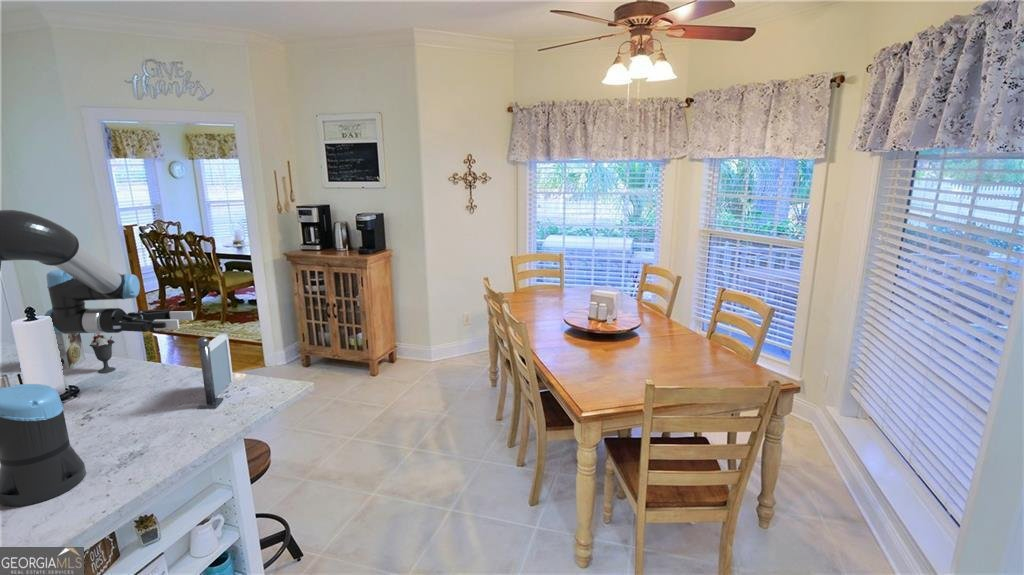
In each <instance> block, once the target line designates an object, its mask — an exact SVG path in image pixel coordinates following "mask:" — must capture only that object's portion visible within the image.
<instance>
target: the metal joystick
mask: <svg viewBox="0 0 1024 575" xmlns="http://www.w3.org/2000/svg"><path fill="white" fill-rule="evenodd" d="M209 342H210V339H209V338H208V337H203V336H202V337H200V338H198V339H197V341H196V346H197V347H198V350H199V357H200V364H201V373H202V380H203V387H204V395H205V396H204V397H205V398H204V400H202V402H200V403H199V404H198V406H197V407H198V409H199V408H200V410H201V409H207V410H208V409H217V408H218V407H219V406H220V405H221V404H222V403H223V402H224V401H223V400H224V397H215V393H214V386H213V378H212V370H211V363H210V355H209V347H208V345H209ZM222 401H223V402H222Z"/></svg>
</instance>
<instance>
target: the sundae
mask: <svg viewBox="0 0 1024 575" xmlns="http://www.w3.org/2000/svg"><path fill="white" fill-rule="evenodd" d="M93 334H94V336H92V340H91V343H90V344H89V347H91V348H92V350H93V351H94V352H93V353H94V355H95V357H96V359H97V361H100V362H102V364H103V366H102V368H101V369H99V370H97V373H98V374H108V373H112V372H114V371H116V367H113V366H109V362H108V361H109V360H111V358H112V356H113V355H112V354H113V344H115V342H116V341H114V340H113V339H112V337H113V336H112V335H111V336H110V337H109V338H108V336H106V335H103V334H102V335H101V334H96V333H93Z"/></svg>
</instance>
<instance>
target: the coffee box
mask: <svg viewBox="0 0 1024 575" xmlns="http://www.w3.org/2000/svg"><path fill="white" fill-rule="evenodd" d="M55 334H56V339H57V344H58V349H59V351H60V358H61V362H62V366H63V369H65V370H64V371H66V370H67V371H68V370H71V369H73V368H74V367H76V366H78V365H79V364H81V363H82V362H84V361H86V356H85V352H84V347H83V341H82V338H81V337H82V336H81V333H69V334H64V333H55Z"/></svg>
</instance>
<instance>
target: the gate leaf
mask: <svg viewBox="0 0 1024 575" xmlns="http://www.w3.org/2000/svg"><path fill="white" fill-rule="evenodd" d="M208 347H209V355H210V363H211V370H212V378H213V386H214V393H215V398H217V397H218V396H219V394H220V393H222V392H223V390H225V388H226V387H228V386H229V385H230V383H233V382H234V374H233V366H232V357H231V350H230V348H231V347H230V341H229V333H228V332H221V333H219V334H218V335H217V336H215V337H214V338H212V340H209V345H208Z"/></svg>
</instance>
